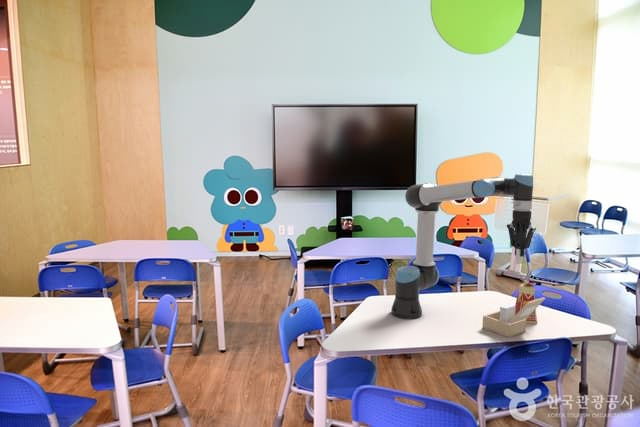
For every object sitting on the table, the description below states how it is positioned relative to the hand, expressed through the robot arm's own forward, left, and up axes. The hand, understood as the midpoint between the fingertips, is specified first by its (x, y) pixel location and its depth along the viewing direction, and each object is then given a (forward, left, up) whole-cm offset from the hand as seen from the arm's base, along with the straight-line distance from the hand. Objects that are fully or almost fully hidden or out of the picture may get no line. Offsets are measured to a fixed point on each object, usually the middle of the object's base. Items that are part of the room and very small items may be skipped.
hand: (519, 263), depth 212 cm
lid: (+4, -2, -20) cm, 20 cm away
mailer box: (-5, +3, -32) cm, 33 cm away
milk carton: (+3, +23, -33) cm, 40 cm away
